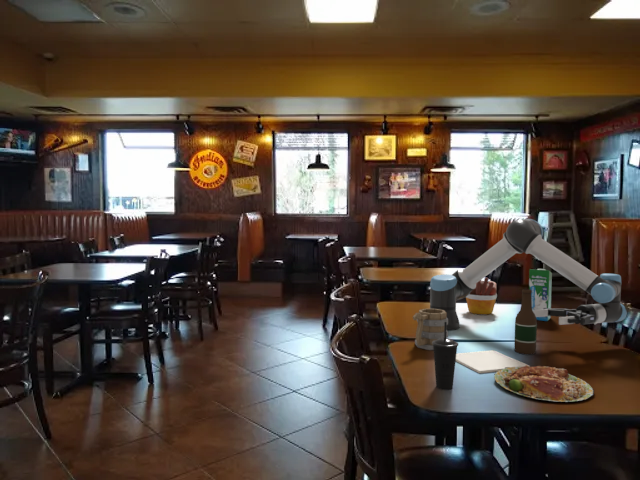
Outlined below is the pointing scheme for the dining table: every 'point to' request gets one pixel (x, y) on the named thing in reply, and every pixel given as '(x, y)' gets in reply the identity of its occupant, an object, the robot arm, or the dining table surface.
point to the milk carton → (540, 290)
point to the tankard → (429, 327)
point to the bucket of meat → (482, 298)
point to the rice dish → (544, 383)
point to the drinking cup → (444, 360)
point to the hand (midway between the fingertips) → (546, 317)
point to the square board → (487, 361)
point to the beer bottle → (525, 326)
